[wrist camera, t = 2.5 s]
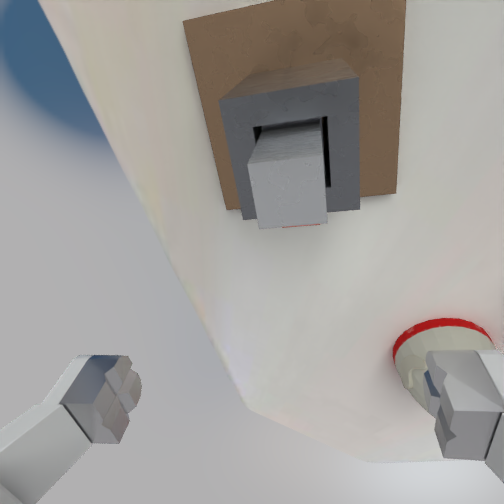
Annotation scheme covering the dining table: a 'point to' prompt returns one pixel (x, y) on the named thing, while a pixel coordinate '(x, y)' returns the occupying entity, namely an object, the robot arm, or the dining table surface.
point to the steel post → (289, 174)
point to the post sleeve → (304, 89)
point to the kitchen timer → (433, 348)
